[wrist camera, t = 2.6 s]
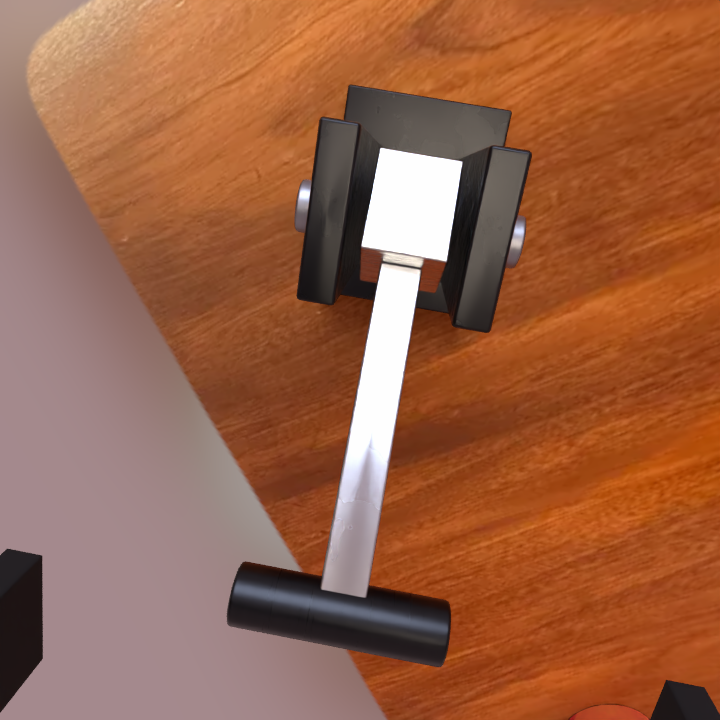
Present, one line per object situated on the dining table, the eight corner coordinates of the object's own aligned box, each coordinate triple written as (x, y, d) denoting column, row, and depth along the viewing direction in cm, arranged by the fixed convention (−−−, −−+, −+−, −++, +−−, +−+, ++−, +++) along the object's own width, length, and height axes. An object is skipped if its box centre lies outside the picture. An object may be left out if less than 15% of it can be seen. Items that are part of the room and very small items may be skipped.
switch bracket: (464, 311, 29) (508, 424, 15) (323, 286, 29) (247, 377, 16) (508, 113, 26) (605, 47, 13) (351, 87, 26) (288, -4, 13)
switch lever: (433, 652, 15) (448, 683, 12) (238, 614, 15) (216, 637, 13) (497, 212, 17) (518, 169, 15) (329, 184, 18) (325, 137, 15)
